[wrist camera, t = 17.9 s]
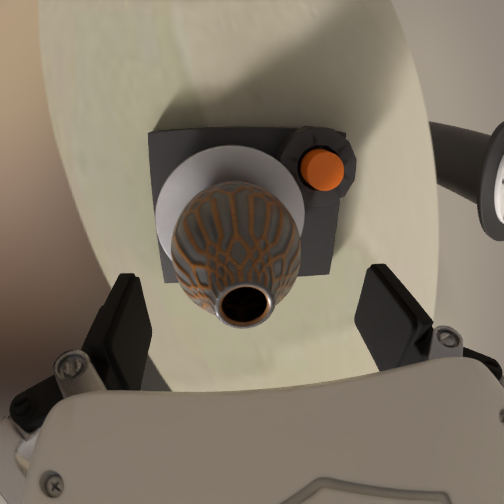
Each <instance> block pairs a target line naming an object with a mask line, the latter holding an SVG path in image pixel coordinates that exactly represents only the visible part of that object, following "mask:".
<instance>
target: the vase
mask: <svg viewBox="0 0 504 504" xmlns="http://www.w3.org/2000/svg"><path fill="white" fill-rule="evenodd" d="M171 258H172V264H173V268H174V271H175V274H176V277H177V279H178V281H179V283H180V285H181V287H182V289H183V290H184V292H185V293H186V294H187V296H188V297H189V298H190V299H191V300H192V301H193V302H194V303H195V304H197V305H198V306H199V307H201V308H202V309H204V310H206V311H207V312H209V313H212V314H214V315H216V316H217V317H218V319H219V320H220V321H222V322H223V323H224V324H226V325H228V326H230V327H234V328H241V329H244V328H251V327H255V326H257V325H259V324H261V323H263V322H264V321H266V320H267V319H268V318H269V317H270V315H271V314H272V312H273V310H274V308H275V306H276V305H277V304H278V303H279V302H280V301H281V300H282V299H283V298H284V297H285V296H286V295H287V294H288V292H289V291H290V289H291V288H292V286H293V284H294V282H295V280H296V278H297V275H298V272H299V267H300V261H301V242H300V236H299V232H298V228H297V225H296V223H295V221H294V219H293V217H292V215H291V213H290V212H289V210H288V209H287V208H286V207H285V205H284V204H283V203H282V202H281V201H280V200H279V199H278V198H277V197H276V196H275V195H274V194H272V193H271V192H269V191H268V190H266V189H264V188H262V187H260V186H258V185H255V184H252V183H247V182H242V181H228V182H222V183H218V184H215V185H212V186H210V187H208V188H206V189H204V190H202V191H201V192H199V193H198V194H197V195H195V196H194V197H193V198H192V199H191V200H190V201H189V202H188V203H187V205H186V206H185V207H184V209H183V210H182V212H181V213H180V215H179V217H178V219H177V222H176V224H175V227H174V230H173V234H172V240H171Z"/></svg>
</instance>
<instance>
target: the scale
mask: <svg viewBox="0 0 504 504" xmlns="http://www.w3.org/2000/svg"><path fill="white" fill-rule="evenodd" d="M219 145H243V146H248V147H252V148H255V149H258V150H261V151H263V152H265V153H267V154H269V155H270V156H272V157H273V158H275V159H276V160H278V161H279V162H280V163H281V164H282V165H283V166H284V167H286V168H287V170H288V171H289V172H290V173H291V175H292V176H293V177H294V179H295V181H296V182H297V184H298V186H299V189H300V191H301V194H302V198H303V201H304V210H305V216H304V225H303V230H302V234H301V237H300V242H301V261H300V267H299V272H298V275H297V277H298V276H313V275H327V274H329V272H330V266H331V260H332V254H333V247H334V241H335V234H336V227H337V219H338V211H339V203H340V198H342V197H343V196H344V195H345V194H346V192H347V191H348V189H349V188H350V186H351V185H352V183H353V182H354V179H355V171H356V157H355V155H354V152H353V150H352V148H351V145H350V143H349V141H348V140H347V139H346V133H344V132H340V131H335V130H333V129H330V128H325V127H313V126H304V127H302V128H288V127H204V128H186V129H172V130H161V131H152V132H149V133H148V146H149V161H150V174H151V185H152V196H153V205H154V214H155V211H156V204H157V200H158V196H159V194H160V191H161V188H162V187H163V185H164V183H165V181H166V179H167V178H168V177H169V175H170V174H171V173H172V172H173V170H174V169H175V168H176V167H177V166H178V165H179V164H180V163H181V162H183V161H184V160H185V159H187V158H188V157H190V156H191V155H193V154H195V153H197V152H199V151H201V150H204V149H207V148H210V147H214V146H219ZM314 149H324V150H327V151H329V152H331V153H334V154H336V155H337V156H338V157H339V158H340V159H341V161H342V163H343V166H344V176H343V179H342V181H341V182H340V184H339V185H338V186H337V187H335V188H334V189H332V190H328V191H321V190H317V189H315V188H314V187H313V186H311V185H310V184H309V183H308V182H307V181H306V180H305V179H304V178H303V176H302V174H301V170H300V166H301V161H302V159H303V157H304V156H305V155H306V154H307V153H308V152H309V151H311V150H314ZM157 238H158V245H159V252H160V258H161V265H162V271H163V277H164V283H179V281H178V279H177V277H176V274H175V271H174V268H173V264H172V260H171V259H170V258H169V257H168V255H167V254H166V252H165V251H164V249H163V247H162V245H161V243H160V240H159V237H158V235H157Z"/></svg>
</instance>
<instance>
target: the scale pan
mask: <svg viewBox="0 0 504 504" xmlns="http://www.w3.org/2000/svg"><path fill="white" fill-rule="evenodd" d="M228 181H242V182H247V183H252V184H255V185H258V186H260V187H262V188H264V189H266V190H268V191H269V192H271V193H272V194H274V195H275V196H276V197H277V198H278V199H279V200H280V201H281V202H282V203H283V204H284V205H285V207H286V208H287V209H288V210H289V212H290V213H291V215H292V217H293V219H294V221H295V223H296V225H297V228H298V232H299V236H300V237H301V234H302V230H303V225H304V216H305V210H304V201H303V198H302V194H301V191H300V189H299V186H298V184H297V182H296V181H295V179H294V177H293V176H292V175H291V173H290V172H289V171H288V170H287V168H286V167H284V166H283V165H282V164H281V163H280V162H279V161H278V160H276V159H275V158H273V157H272V156H270V155H269V154H267V153H265V152H263V151H261V150H258V149H255V148H252V147H248V146H243V145H219V146H214V147H210V148H207V149H204V150H201V151H199V152H197V153H195V154H193V155H191V156H190V157H188V158H187V159H185V160H184V161H183V162H181V163H180V164H179V165H178V166H177V167H176V168H175V169H174V170H173V172H172V173H171V174H170V175H169V177H168V178H167V179H166V181H165V183H164V185H163V187H162V188H161V191H160V194H159V196H158V200H157V204H156V211H155V224H156V230H157V235H158V237H159V240H160V243H161V245H162V247H163V249H164V251H165V252H166V254H167V255H168V257H169V258H170V259H171V260H172V258H171V240H172V234H173V230H174V227H175V224H176V222H177V219H178V217H179V215H180V213H181V212H182V210H183V209H184V207H185V206H186V205H187V203H188V202H189V201H190V200H191V199H192V198H193V197H194V196H195V195H197V194H198V193H199V192H201V191H202V190H204V189H206V188H208V187H210V186H212V185H215V184H218V183H222V182H228Z"/></svg>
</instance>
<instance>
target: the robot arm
mask: <svg viewBox="0 0 504 504" xmlns="http://www.w3.org/2000/svg"><path fill="white" fill-rule="evenodd" d="M494 203H495V210H496V214H497V217H498V218H499V220H500V221H501V222H502V223H503V224H504V154H503V156H502V159H501V161H500V164H499V167H498V171H497V175H496V180H495V189H494ZM354 321H355V325H356V327H357V329H358V330H359V332H360V334H361V336H362V338H363V340H364V342H365V344H366V346H367V348H368V349H369V351H370V353H371V355H372V357H373V359H374V361H375V363H376V365H377V367H378V369H379V371H380V372H376V373H372V374H367V375H362V376H357V377H351V378H346V379H340V380H334V381H328V382H321V383H314V384H307V385H299V386H290V387H281V388H270V389H258V390H243V391H222V392H155V391H140V388H141V383H142V378H143V373H144V369H145V364H146V359H147V355H148V350H149V346H150V342H151V338H152V327H151V323H150V319H149V315H148V311H147V307H146V303H145V299H144V295H143V291H142V286H141V282H140V278H139V277H135V274H134V273H122V274H120V275H119V276H118V278H117V280H116V282H115V284H114V286H113V288H112V290H111V292H110V294H109V296H108V298H107V300H106V302H105V304H104V305H103V306H101V308H100V309H99V312H98V314H97V316H96V318H95V320H94V322H93V324H92V326H91V328H90V330H89V333H88V335H87V337H86V339H85V342H84V344H83V346H82V349H81V350H69V351H66V352H64V353H63V354H61V355H60V356H59V357H58V358H57V360H56V361H55V363H54V366H53V371H54V375H52V376H51V377H49V378H47V379H45V380H43V381H42V382H40V383H38V384H36V385H35V386H33V387H31V388H29V389H27V390H26V391H24V392H22V393H21V394H19V395H17V396H16V397H15V398H14V399H13V401H12V402H11V405H10V410H9V411H10V415H9V416H8V417H6V416H3V418H1V419H0V494H1V496H2V497H3V498H4V499H5V501H6V502H7V504H504V376H503V375H502V369H501V366H500V365H499V364H498V362H497V361H496V360H495V359H492V358H490V357H487V356H485V355H483V354H480V353H478V352H475V351H473V350H470V349H468V348H465V347H463V339H462V337H461V335H460V334H459V333H458V332H457V331H456V330H455V329H453V328H451V327H448V326H438V327H436V328H435V329H433V327H432V324H433V321H432V319H431V318H430V317H429V315H428V314H427V313H426V312H425V310H424V309H423V308H422V307H421V305H420V304H419V303H418V302H417V301H416V299H415V298H414V297H413V296H412V295H411V293H410V292H409V291H408V290H407V289H406V287H405V286H404V285H403V284H402V283H401V282H400V280H399V279H398V278H397V277H396V276H395V275H394V273H393V272H392V271H391V270H390V269H389V268H388V267H387V265H385V264H372V265H371V266H370V268H368V269H367V271H366V275H365V279H364V283H363V287H362V291H361V295H360V299H359V303H358V306H357V310H356V313H355V317H354Z"/></svg>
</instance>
